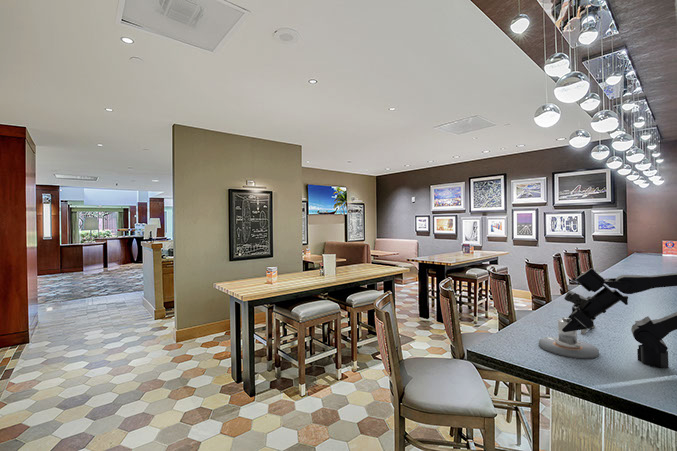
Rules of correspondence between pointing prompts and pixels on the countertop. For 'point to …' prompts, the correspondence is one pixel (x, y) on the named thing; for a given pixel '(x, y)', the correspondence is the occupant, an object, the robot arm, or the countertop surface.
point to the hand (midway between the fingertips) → (563, 327)
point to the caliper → (585, 330)
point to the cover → (566, 336)
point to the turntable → (583, 352)
